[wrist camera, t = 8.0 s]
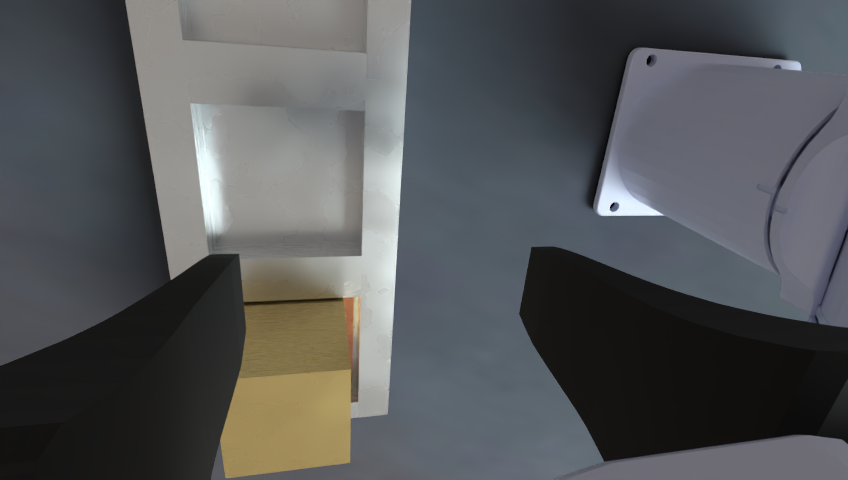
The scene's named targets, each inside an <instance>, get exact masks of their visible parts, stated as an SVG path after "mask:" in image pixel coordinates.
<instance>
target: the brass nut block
mask: <svg viewBox="0 0 848 480" xmlns="http://www.w3.org/2000/svg"><path fill="white" fill-rule="evenodd" d="M244 311H245V322H246V335H245V343H244V351H243V357H242V364H241V369H240V372H239V376H238V380H237V383H236V387H235V390H234V394H233V397H232V401H231V404H230V408H229V411H228V415H227V418H226V421H225V425H224V428H223V432H222V435H221V439H220V441H221V448H222V455H223V463H224V470H225V477H226V478H232V477H240V476H248V475H256V474H264V473H272V472H280V471H288V470H296V469H303V468H311V467H319V466H327V465H335V464H343V463H350V421H351V364H350V355H349V345H348V336H347V327H346V318H345V309H344V299H343V298H322V299H300V300H277V301H255V302H244Z"/></svg>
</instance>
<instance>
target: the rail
mask: <svg viewBox="0 0 848 480" xmlns="http://www.w3.org/2000/svg"><path fill="white" fill-rule="evenodd" d="M125 2H126V8H127V14H128V20H129V26H130V33H131V39H132V45H133V51H134V57H135V63H136V69H137V76H138V82H139V88H140V94H141V100H142V106H143V112H144V119H145V125H146V131H147V137H148V143H149V149H150V155H151V162H152V168H153V174H154V180H155V186H156V192H157V199H158V205H159V211H160V217H161V223H162V229H163V235H164V242H165V248H166V254H167V260H168V266H169V272H170V278H171V280H172V279H174V278H175V277H176V276H178V275H179V274H181V273H182V272H184V271H185V270H187V269H188V268H190V267H191V266H192V265H194V264H195V263H197V262H198V261H200V260H201V259H203V258H204V257H206V256H208V255H210V254H239V257H240V268H241V279H242V289H243V300H244V302H255V301H277V300H300V299H322V298H343V299H344V309H345V318H346V327H347V336H348V345H349V355H350V364H351V418H357V417H367V416H376V415H386V414H388V397H389V380H390V362H391V345H392V327H393V310H394V292H395V275H396V257H397V240H398V222H399V205H400V188H401V170H402V153H403V135H404V118H405V100H406V83H407V65H408V48H409V30H410V13H411V0H125Z"/></svg>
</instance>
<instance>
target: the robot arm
mask: <svg viewBox="0 0 848 480" xmlns="http://www.w3.org/2000/svg"><path fill="white" fill-rule="evenodd" d="M649 56H651V62H650V64H649V65H647V64H646V61H647V58H648V57H649ZM614 202H615V205H614V207H613V208H611V209H610V206H611V204H612V203H614ZM593 209H594V211H595V212H596V213H597V214H599V215H601V216H655V215H665V216H667V217H669V218H671V219H673V220H675V221H676V222H678V223H680V224H682V225H684V226H686V227H688V228H690V229H692V230H693V231H695V232H697V233H699V234H701V235H703V236H705V237H707V238H709V239H710V240H712V241H714V242H716V243H718V244H720V245H722V246H724V247H725V248H727V249H729V250H731V251H733V252H735V253H737V254H739V255H741V256H742V257H744V258H746V259H748V260H750V261H752V262H754V263H756V264H758V265H759V266H761V267H763V268H765V269H767V270H769V271H771V272H773V273H775V274H776V275H778V276H780V277H781V278H782V288H781V292H780V298H782V299H784V300H785V301H787V302H789V303H791V304H792V305H794V306H796V307H798V308H799V309H801V310H803V311H805V312H806V313H808V314H810V317H809V319H808V322H805V321H798V320H792V319H787V318H781V317H776V316H771V315H766V314H761V313H757V312H752V311H748V310H743V309H738V308H734V307H730V306H726V305H722V304H718V303H714V302H711V301H707V300H704V299H700V298H697V297H693V296H690V295H686V294H683V293H680V292H677V291H674V290H671V289H668V288H665V287H662V286H659V285H657V284H654V283H651V282H648V281H645V280H643V279H640V278H637V277H635V276H632V275H630V274H627V273H625V272H622V271H620V270H617V269H615V268H612V267H610V266H607V265H605V264H602V263H600V262H597V261H595V260H592V259H590V258H587V257H585V256H582V255H579V254H577V253H574V252H571V251H568V250H565V249H561V248H557V247H532V248H531V253H530V258H529V264H528V269H527V275H526V280H525V286H524V291H523V296H522V302H521V307H520V313H519V314H520V317H521V319H522V321H523V324H524V326H525V328H526V331H527V333H528V335H529V337H530V339H531V341H532V343H533V345H534V347H535V348H536V350H537V351H538V353H539V355H540V356H541V358H542V359H543V361H544V362H545V364H546V365H547V367H548V368H549V370H550V371H551V373H552V374H553V376H554V377H555V379H556V380H557V382H558V383H559V385H560V386H561V388H562V389H563V391H564V392H565V394H566V395H567V397H568V398H569V400H570V401H571V403H572V404H573V406H574V407H575V409H576V410H577V412H578V414H579V415H580V417H581V419H582V420H583V422H584V424H585V425H586V427H587V429H588V431H589V433H590V434H591V436H592V438H593V440H594V442H595V444H596V446H597V448H598V450H599V452H600V454H601V456H602V458H603V460H604V462H602V463H599V464H596V465H593V466H590V467H587V468H584V469H581V470H578V471H575V472H572V473H569V474H566V475H563V476H560V477H557V478H556V479H554V480H848V75H846V74H835V73H823V72H811V71H801V64H800V63H799V62H798V61H791V60H780V59H768V58H757V57H745V56H734V55H722V54H711V53H699V52H688V51H676V50H665V49H653V48H635V49H634V50H632V52H631V53H630V54H629V56H628V59H627V63H626V68H625V72H624V76H623V80H622V85H621V89H620V93H619V97H618V102H617V106H616V110H615V115H614V119H613V123H612V127H611V132H610V136H609V140H608V144H607V149H606V153H605V157H604V161H603V166H602V170H601V174H600V179H599V183H598V187H597V191H596V196H595V200H594V204H593ZM245 335H246V322H245V311H244V300H243V289H242V279H241V268H240V257H239V254H210V255H208V256H206V257H204V258H203V259H201V260H200V261H198V262H197V263H195V264H194V265H192V266H191V267H190V268H188V269H187V270H185V271H184V272H182V273H181V274H179V275H178V276H176V277H175V278H174V279H172V280H171V281H169V282H168V283H166V284H165V285H163V286H162V287H160V288H159V289H157V290H156V291H154V292H152V293H151V294H149V295H147V296H146V297H144V298H143V299H141V300H139V301H138V302H136V303H134V304H133V305H131V306H129V307H128V308H126V309H124V310H123V311H121V312H119V313H118V314H116V315H114V316H112V317H110V318H108V319H107V320H105V321H103V322H101V323H99V324H97V325H95V326H93V327H91V328H89V329H87V330H85V331H83V332H80V333H78V334H76V335H74V336H72V337H70V338H68V339H66V340H63V341H61V342H59V343H56V344H54V345H51V346H49V347H46V348H44V349H41V350H39V351H37V352H34V353H32V354H29V355H27V356H24V357H22V358H19V359H17V360H14V361H12V362H9V363H7V364H4V365H2V366H0V480H211V474H212V470H213V465H214V461H215V457H216V453H217V449H218V446H219V442H220V439H221V435H222V432H223V428H224V425H225V421H226V418H227V415H228V411H229V408H230V404H231V401H232V397H233V394H234V390H235V387H236V383H237V380H238V376H239V372H240V369H241V364H242V357H243V351H244V343H245Z"/></svg>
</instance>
